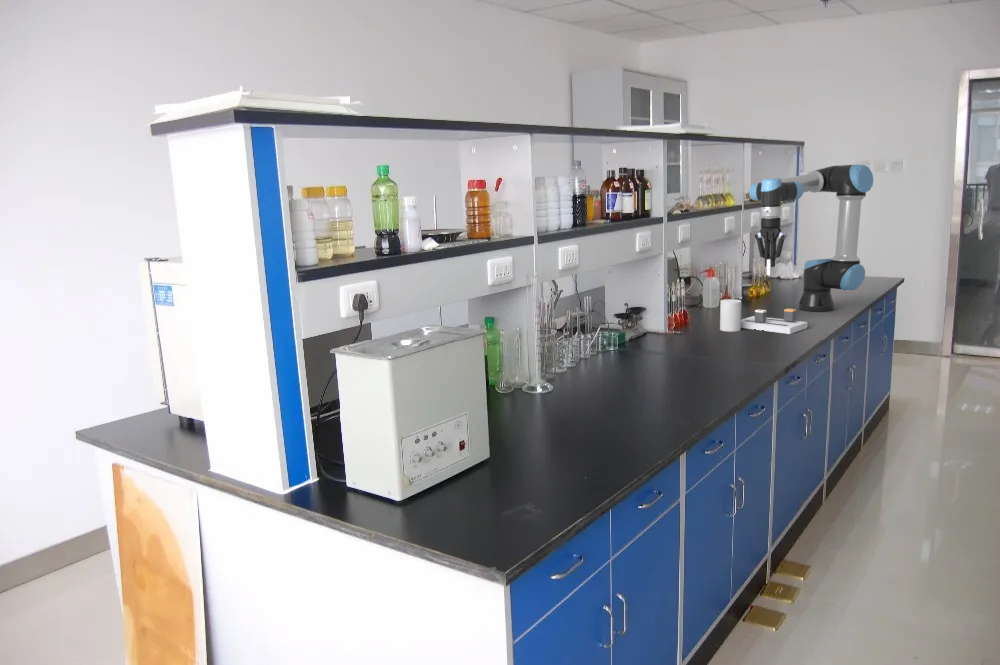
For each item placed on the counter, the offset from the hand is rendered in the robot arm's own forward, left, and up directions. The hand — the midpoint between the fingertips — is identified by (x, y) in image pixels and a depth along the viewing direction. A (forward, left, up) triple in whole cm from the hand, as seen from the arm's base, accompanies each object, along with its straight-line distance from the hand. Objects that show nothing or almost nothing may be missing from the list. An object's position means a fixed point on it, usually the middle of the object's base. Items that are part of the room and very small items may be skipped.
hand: (769, 274), depth 303 cm
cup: (+15, -9, -22) cm, 28 cm away
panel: (+2, +2, -22) cm, 22 cm away
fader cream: (+6, 0, -19) cm, 20 cm away
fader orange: (-2, +8, -19) cm, 21 cm away
